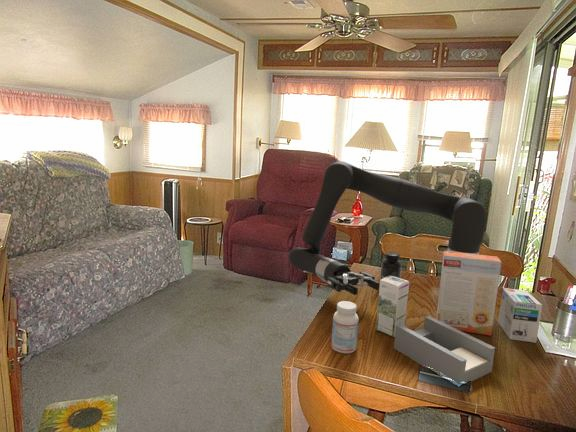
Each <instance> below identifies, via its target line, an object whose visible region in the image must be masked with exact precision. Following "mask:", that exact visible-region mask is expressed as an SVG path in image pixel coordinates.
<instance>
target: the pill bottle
mask: <svg viewBox="0 0 576 432" xmlns="http://www.w3.org/2000/svg"><path fill="white" fill-rule="evenodd" d="M356 312H357V304H356V303H354V302H352V301H348V300H347V301H346V300H342V301H339V302H337V304H336V311H335V312H334V314H333V317H332V329H331V330H332V331H331V343H330V344H331V348H332V349H333V351H335V352H338V353H340V354H352V353H354V352H355V351H356V350H357V347H358V345H357V344H358V334H359V321H360V320H359V319H360V318H359V316H358V314H357V313H356Z"/></svg>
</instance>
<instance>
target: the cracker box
mask: <svg viewBox="0 0 576 432" xmlns="http://www.w3.org/2000/svg"><path fill="white" fill-rule="evenodd" d="M501 267H502V261H501V259H500V258H499V256H495V255H487V254H486V255H485V254H480V253H479V254H470V253H461V252H452V251H447V250H444V251H443V254H442V265H441V271H440V272H441V273H440V280H439V281H440V282H439V292H438V300H437V308H436V317H435V319H436V320H439V321H441V322H443V323H445V324H447V325H449V326H451V327H453V328H455V329H457V330H460V331H462V332H465V333H466V332H467V333H473V334H477V335H478V334H479V335H484V336H489V337H490V336H492V332H493V326H494V319H495V318H494V317H495V311H496V303H497V295H498V289H499V284H500V276H501V269H502V268H501Z"/></svg>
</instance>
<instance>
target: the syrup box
mask: <svg viewBox="0 0 576 432" xmlns="http://www.w3.org/2000/svg"><path fill="white" fill-rule="evenodd" d="M379 283H380V287H379V290H378V299H377V301H378V302H377V312H376V314H377V315H376V323H375V325H376V326H375V330H376V331H379V332H381V333H383V334H385V335H388V336H390V337H393V338H395V332H396V325H400V324H401V325H403V326H405V327H406V317H407V307H408V305H407V304H408V299H409V289H410V281H409V280H406V279H404V278H397V277H394V276H387V277H385V278H383V279H381V280H380V279H379Z"/></svg>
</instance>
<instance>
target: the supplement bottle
mask: <svg viewBox="0 0 576 432" xmlns="http://www.w3.org/2000/svg"><path fill="white" fill-rule="evenodd" d="M384 255H385V256H384V259H383V260H382V261H381V267H380V275H379V276H380V278H379V281H380V280H381V279H383V278H385V277H387V276H394V277H397V278H401V277H402V266H403V264H402V262H401V261H400V259H401V258H400V257H401V254H400V253H398V252H397V251H396V252H395V251H386V252H385V254H384ZM401 279H402V278H401Z"/></svg>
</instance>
